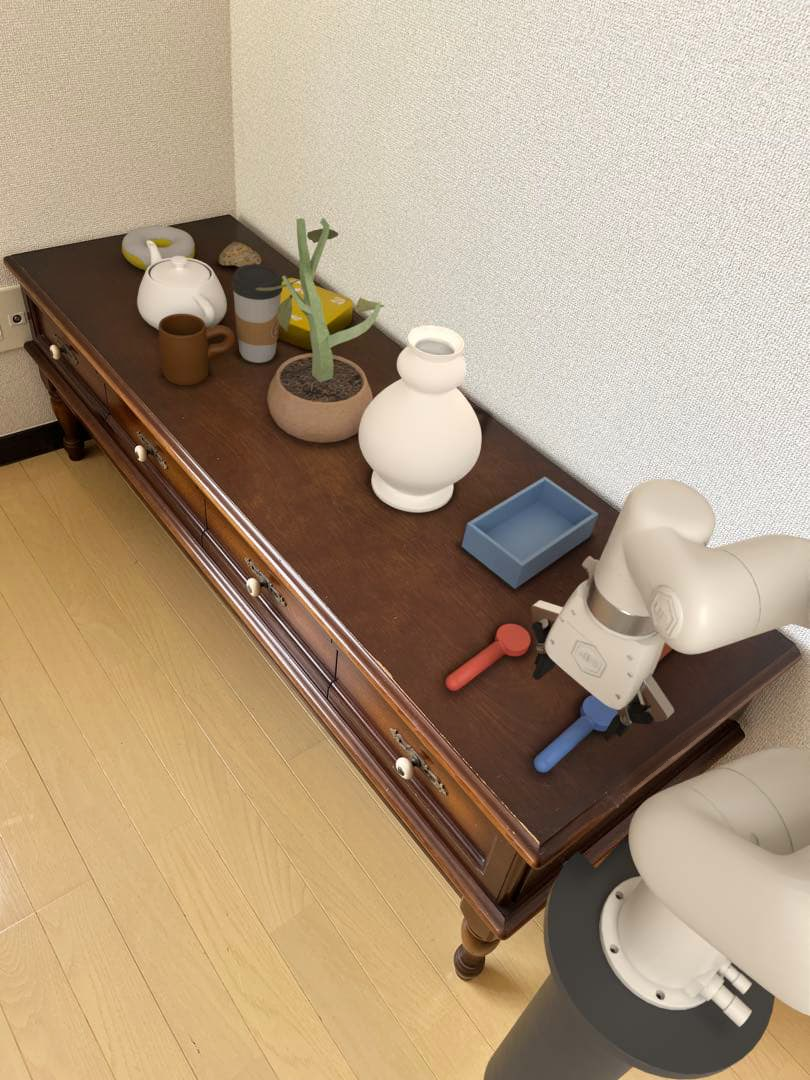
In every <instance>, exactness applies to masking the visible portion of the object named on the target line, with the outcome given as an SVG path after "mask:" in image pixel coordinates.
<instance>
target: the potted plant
mask: <svg viewBox="0 0 810 1080" xmlns="http://www.w3.org/2000/svg"><path fill="white" fill-rule="evenodd" d="M319 224H321V226H322V228H318V229H312V230H311V231H308V232H307V228H306V219H304V218H302V217H301V218H296V237H297V238H296V239H297V240H296V241H297V249H298V256H299V266H298V269H299V271H298V272H299V280H300V282H301V285H302V290H303V295H304V300H303V299H302V297H301V296H300V295H299V294H298V293H297V292H296V291H295V289H294V288H293V286H292V284H293V283H295V282H297V281H299V280H297V281H293V282H289V280H288V279H289V278H288V277H287V276H286V275H283V276H281V279H282V281H284V282H285V284H284V285H280V286H277V287H269V288H260V287H257V288H256V290H259V291H272V290H275V289H279V288H282V287H285V286H287V288H288V290H289V292H290V293H291V295H290V296H289V297H288V298H287V299H285V300H284V301H283V302H282V303H281V304H280V306H279V308H278V310H277V318H278V322H279V324H280V325H281V327H282V328H283V329H284V330H285V331H286V332H287V334H288V326H289V323H290V319H291V316H292V301H291V299H292V297H293V298H294V300H295V302H296V303H297V305H298V306H299V308H300V309H301V311H302V312H303V313H304V314H305V315H306V317H307V319H308V321H309V326H310V339H311V345H312V350H311V353H310V352H309V353H304V354H298V355H295V356H293V357H290V358H288V359H287V360H285V361H284V362H283V363H281V364H280V365H279V367H278V368H277V370H276V371H275V374H274V375H273V378H272V379H271V381H270V383H269V386H268V391H267V396H266V400H267V406H268V410H269V414H270V416H271V417H272V419H273V421H274V422H275V423H276V425H277V426H278V427H279V428H280V429H281V430H282V431H284V432H285V433H287V434H288V435H290V436H292V437H294V438H296V439H298V440H302V441H306V442H310V443H322V444H323V443H324V444H325V443H335V442H340V441H344V440H347V439H348V438H349V439H350V438H351V437H353V436H355V435H356V434H357V435H358V434H359V426H360V422H361V419H362V416H363V414H364V412H365V410H366V408H367V407H368V405H369V404H370V403H371V401H372V400H373V399H374V397H373V392H372V389H371V386H370V383H369V381H368V378H367V376H366V374H365V371H364V370H363V369H362V368H361V367H360V366H359V365H358V364H356V363H355V362H353V361H352V360H349V359H347V358H345V357H343V356H339V355H335V354H333V351H332V349H331V348H333V347H335V346H337V345H339V344H342V343H345V342H349V341H350V340H353V339H356V338H358V337H359V336H361V335H362V334H364V333H366V332H367V331H368V330H369V329H370V328H371V327H372V325H374V324H375V322H376V320H377V317H378V316H379V313H380V310H381V308H384V307H385V306H386V305H384V304H382V302H381V301H372V300H371V301H370V300H368V299H365V298H362V297H359V299H358V301H357V303H356V307H355V310H354V312H355V313H364V312H369V311H373V312H372V313H370V315H369V316H368V317H367V318H366V319H365V320H363V321H362V322H360V323H358V324H356V325H354V326H352V327H350V328H347V329H343V330H342V331H340V332H337V333H335V334H333V335H329V331H328V328H327V325H326V322H325V318H324V315H323V312H322V303H321V301H320V298H319V296H318V294H317V291H316V288H315V286H316V285H315V282H314V278H315V274H316V271H317V269H318V266H319V263H320V260H321V258H322V254H323V251H324V248H325V246H326V243H327V240H333V239H335V238H337V237H339V233H338V232H337V231H336V230H333V229H331V228H330V224H329V223H328V221H327V220H326V218H323V217H322V218H321V220H320V222H319ZM308 240H310V241H312V243H313V244H315V243H317V244H316V246H315V249H314V252H313V253H312V256H310V251H309V246H308Z"/></svg>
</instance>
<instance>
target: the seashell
mask: <svg viewBox="0 0 810 1080" xmlns="http://www.w3.org/2000/svg"><path fill="white" fill-rule="evenodd" d="M262 261H263V259H262V257H261V256H260V254H259V253H258V252H256V250H254V249H252V248H251V247H250V246H248V245H246V244H244V243H242V242H239V241H232V242H231V243H229V244H228V245H227V246H226V247H225V248H223V250H222V252H221V253H220V254H219V256H218V264H220V265H221V266H235V267H237V268H239V267H241V266H244V265H250V264H260V265H261V264H262Z"/></svg>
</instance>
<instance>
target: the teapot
mask: <svg viewBox="0 0 810 1080" xmlns="http://www.w3.org/2000/svg"><path fill="white" fill-rule="evenodd" d="M146 243H147V246H148V248H149V251H150V257H151V265H150V266H149V267H148V268H147V270H146V271H144V274H143V276H142V279H141V282H140V284H139V288H138V291H137V292H138V293H137V297H136V298H137V299H136V305H137V309H138V312H139V314H140V316H141V317H142V319H143V320H144V321H145V322H146V323H147V324H148V325H149V326H151V327H153V328H154V329H156V330H157V331H159V323H160V321H161V320H162V319H163V318H165V317H167V316H169V315H173V314H191V315H194V316H197V317H199V318H201V319H202V320H203V321H204V323H205V325H206V329H208V328H211V327H214V326H216V325H219V324H220V323H221V322H222V320H223V319H224V318H225V315H226V313H227V308H228V306H227V305H228V303H227V298H226V294H225V291H224V288H223V287H222V285H221V282H220V280H219V278H218V276H217V275H216V273H215V271H214V269H212V267H211V266H210V265H209V264H208V263H205V262H203V261H201V260H199V259H195V258H193V259H191V258H186V257H184V256H174V257H172V258H166V259H162V257H161V255H160V253H159V250H158V248H157V246H156V245H155V243H154V242H152V241H150V240H148V241H146Z"/></svg>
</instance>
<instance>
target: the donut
mask: <svg viewBox="0 0 810 1080" xmlns="http://www.w3.org/2000/svg"><path fill="white" fill-rule="evenodd" d="M148 240H150V241H152V242H154V243H155V245H156V246H157V248H158V250H159V253H160V255H161V257H162V259H166V258H172V257H174V256H184V257H186V258H191V259H195V255H196V254H195V253H196V248H195V246H196V245H195V241H194V239H193V236H192V235H190V234H189V233H188V232H186V231H185V230H182V229H179V228H176V227H172V226H168V225H147V226H146V225H145V226H140V227H138V228H135V229H133V230H131V231H130V232H128V233H127V234H126V235H124V237H123V240H122V242H121V244H122V245H121V252H122V255H123V257H124V258H125V259H126V260H127V262H128V263H130V264H131V265H132V266H134V267H136V268H137V269H139V270H142V271H144V272H146V270H147V268H148V267H149V266H150V265H151V257H150V251H149V248H148V246H147V243H146V241H148Z"/></svg>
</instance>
